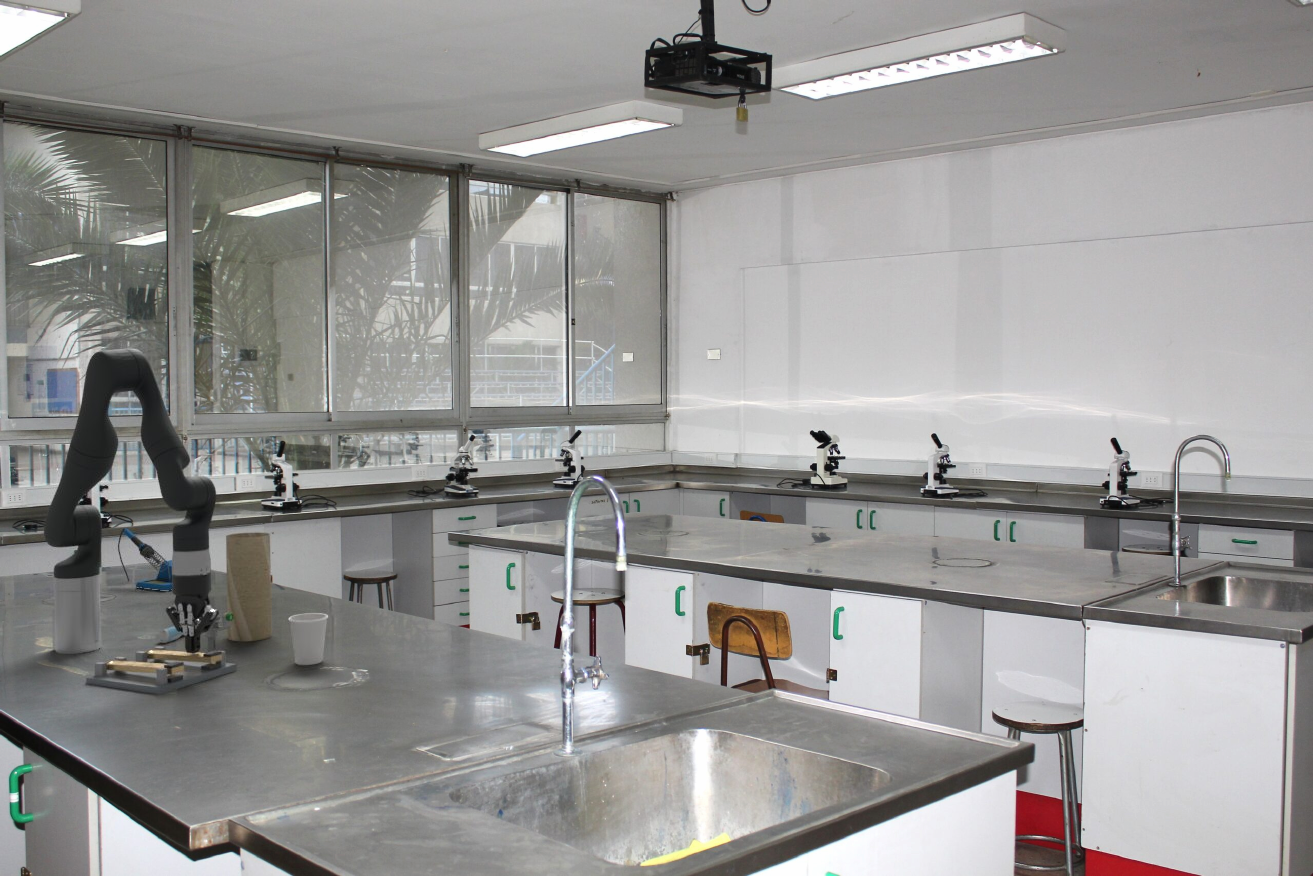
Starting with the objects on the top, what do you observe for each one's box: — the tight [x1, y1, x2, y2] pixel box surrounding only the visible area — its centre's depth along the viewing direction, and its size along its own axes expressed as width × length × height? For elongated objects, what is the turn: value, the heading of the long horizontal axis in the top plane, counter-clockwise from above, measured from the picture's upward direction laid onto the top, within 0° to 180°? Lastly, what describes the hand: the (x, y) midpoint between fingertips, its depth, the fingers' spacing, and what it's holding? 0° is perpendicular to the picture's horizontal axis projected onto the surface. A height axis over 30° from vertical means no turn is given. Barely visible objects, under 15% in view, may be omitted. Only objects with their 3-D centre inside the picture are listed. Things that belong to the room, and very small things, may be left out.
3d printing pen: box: [156, 625, 185, 644], centre depth 257 cm, size 19×3×3 cm, turn 174°
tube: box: [225, 532, 273, 642], centre depth 255 cm, size 10×10×25 cm
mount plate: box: [85, 645, 237, 695], centre depth 218 cm, size 20×20×4 cm
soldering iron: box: [117, 528, 172, 590], centre depth 334 cm, size 35×31×18 cm
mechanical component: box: [196, 612, 233, 653], centre depth 236 cm, size 3×10×10 cm, turn 79°
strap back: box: [146, 649, 223, 663], centre depth 223 cm, size 19×3×2 cm, turn 68°
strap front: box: [106, 659, 184, 675], centre depth 213 cm, size 19×3×2 cm, turn 68°
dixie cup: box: [288, 612, 329, 666], centre depth 231 cm, size 8×8×10 cm
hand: (193, 652), depth 222 cm, fingers closed
